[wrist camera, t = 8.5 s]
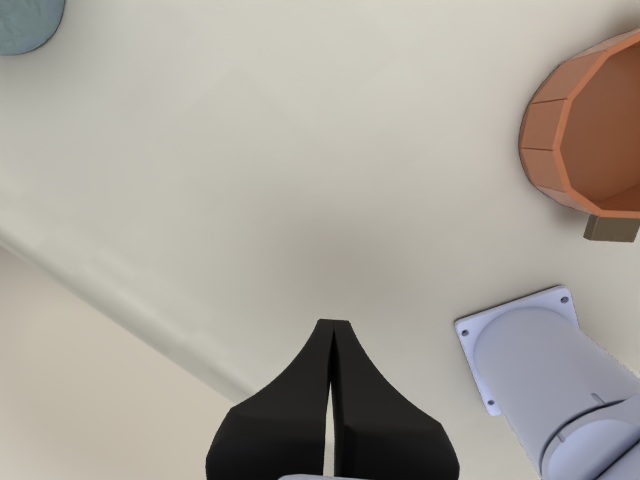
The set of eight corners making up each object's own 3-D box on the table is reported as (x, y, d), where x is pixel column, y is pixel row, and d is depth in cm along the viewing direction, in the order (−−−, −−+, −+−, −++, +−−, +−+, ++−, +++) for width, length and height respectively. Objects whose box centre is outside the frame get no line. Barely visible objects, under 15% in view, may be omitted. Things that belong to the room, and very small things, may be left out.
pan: (499, 221, 21) (529, 238, 18) (546, 9, 17) (595, -20, 14) (642, 228, 21) (699, 246, 18) (722, 13, 17) (815, -16, 14)
